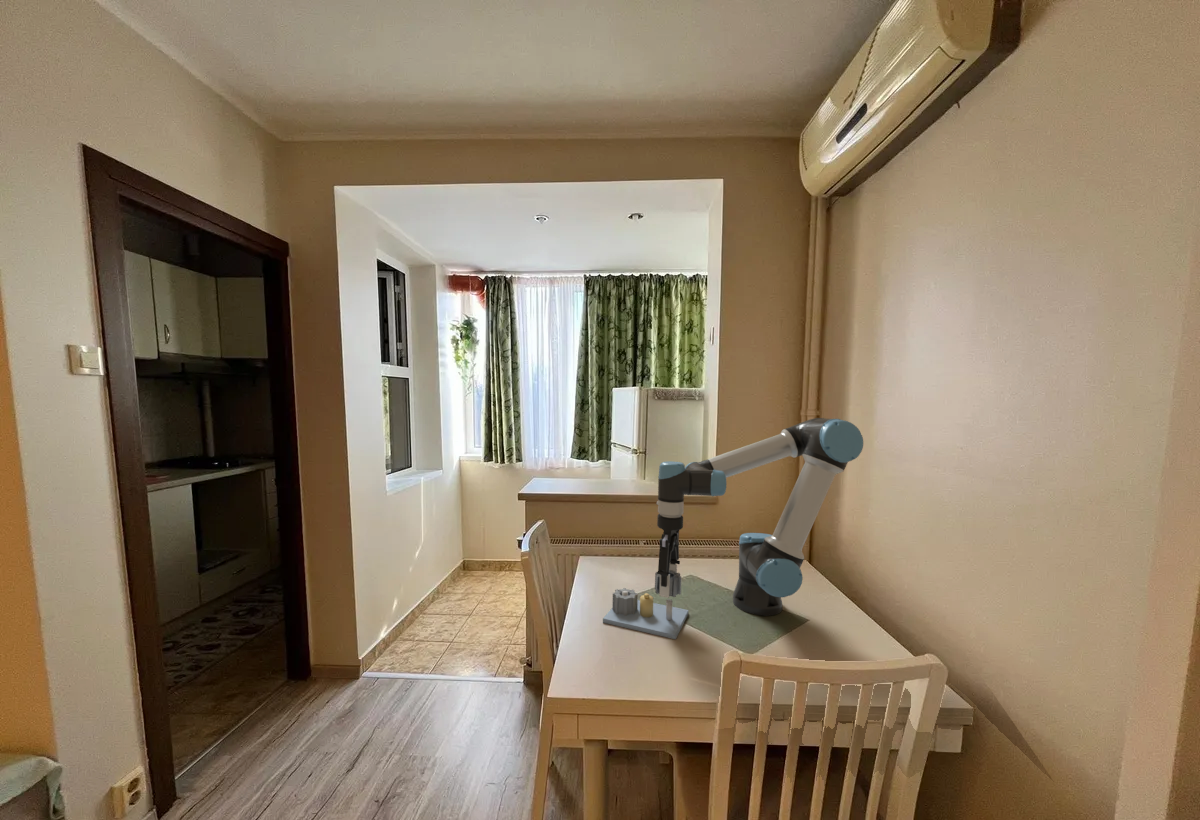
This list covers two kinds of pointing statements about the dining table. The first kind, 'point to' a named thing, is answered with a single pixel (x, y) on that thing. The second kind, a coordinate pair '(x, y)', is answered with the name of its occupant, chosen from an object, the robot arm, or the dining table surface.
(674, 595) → the gear
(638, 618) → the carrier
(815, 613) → the dining table surface
